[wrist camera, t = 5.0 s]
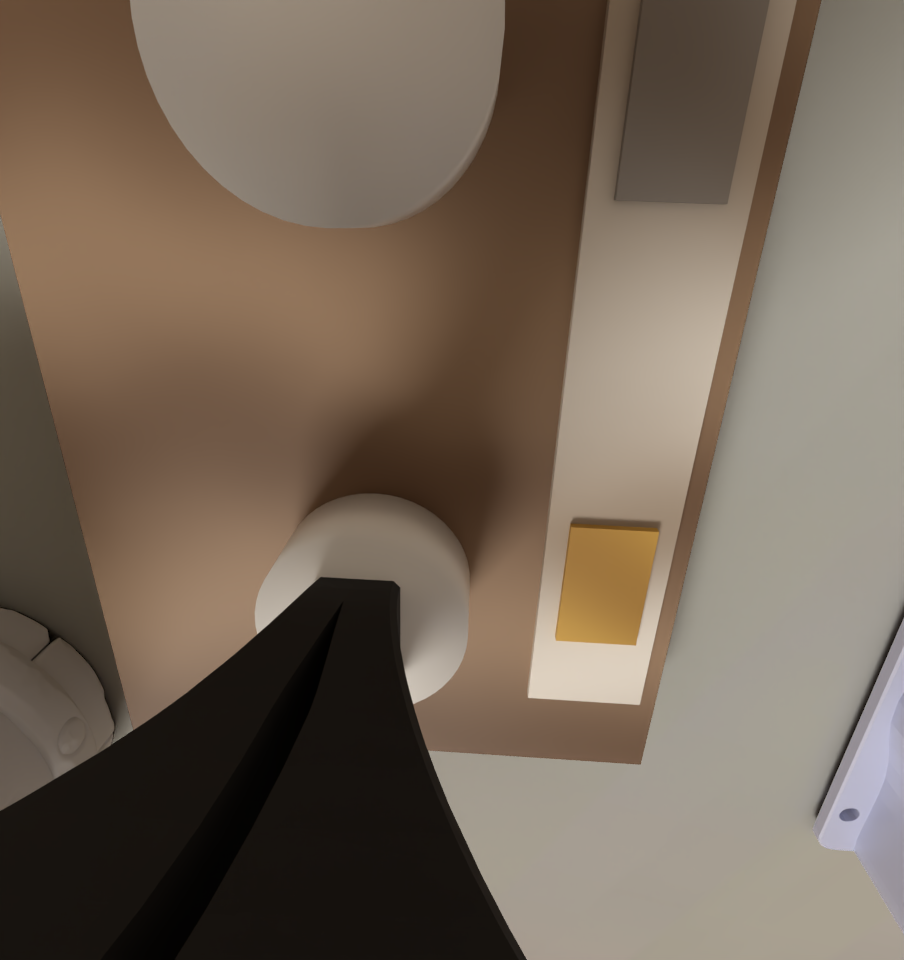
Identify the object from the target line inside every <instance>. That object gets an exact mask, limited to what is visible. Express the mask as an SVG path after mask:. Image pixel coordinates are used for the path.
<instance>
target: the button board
mask: <svg viewBox="0 0 904 960" xmlns="http://www.w3.org/2000/svg"><path fill="white" fill-rule="evenodd" d="M820 4H821V0H505V31H504V40H503V49H502V58H501V67H500V76H499V84H498V93H497V98H496V102H495V107H494V111H493V116H492V118H491V121H490V124H489V127H488V130H487V133H486V136H485V138H484V140H483V142H482V144H481V146H480V148H479V150H478V152H477V154H476V156H475V158H474V159H473V161H472V162H471V164H470V166H469V167H468V169H467V170H466V172H465V173H464V174H463V175H462V177H461V178H460V179H459V180H458V181H457V183H456V184H455V185H454V186H453V187H452V188H451V189H450V190H449V191H448V192H447V193H446V194H445V195H444V196H443V197H442V198H440V199H439V200H438V201H437V202H435V203H434V204H432V205H431V206H430V207H428V208H427V209H425V210H424V211H422V212H420V213H418V214H416V215H414V216H412V217H410V218H408V219H405V220H402V221H399V222H396V223H393V224H390V225H385V226H379V227H373V228H320V227H311V226H304V225H300V224H296V223H292V222H288V221H284V220H281V219H279V218H276V217H274V216H272V215H269V214H267V213H264V212H262V211H260V210H258V209H256V208H255V207H253V206H251V205H249V204H248V203H246V202H244V201H242V200H241V199H239V198H238V197H237V196H235V195H234V194H233V193H231V192H230V191H229V190H227V189H226V188H224V187H223V186H222V185H221V184H220V183H219V182H218V181H216V180H215V179H214V178H213V177H212V176H211V175H210V174H209V173H208V172H207V171H206V170H205V169H204V168H203V167H202V166H201V165H200V164H199V163H198V161H197V160H196V159H195V158H194V157H193V156H192V154H191V153H190V152H189V151H188V150H187V149H186V147H185V146H184V144H183V143H182V141H181V140H180V138H179V137H178V135H177V134H176V133H175V131H174V130H173V128H172V127H171V125H170V123H169V121H168V120H167V118H166V116H165V114H164V112H163V110H162V109H161V107H160V105H159V103H158V101H157V99H156V96H155V94H154V92H153V89H152V87H151V85H150V82H149V80H148V78H147V75H146V72H145V69H144V65H143V62H142V59H141V56H140V53H139V49H138V46H137V41H136V36H135V31H134V26H133V21H132V16H131V6H130V0H0V215H1V219H2V223H3V226H4V230H5V234H6V238H7V242H8V246H9V250H10V254H11V257H12V261H13V265H14V269H15V273H16V277H17V281H18V285H19V288H20V292H21V296H22V300H23V304H24V308H25V312H26V316H27V319H28V323H29V327H30V331H31V335H32V339H33V343H34V347H35V351H36V354H37V358H38V362H39V366H40V370H41V374H42V378H43V382H44V385H45V389H46V393H47V397H48V401H49V405H50V409H51V413H52V416H53V420H54V424H55V428H56V432H57V436H58V440H59V444H60V448H61V451H62V455H63V459H64V463H65V467H66V471H67V475H68V479H69V482H70V486H71V490H72V494H73V498H74V502H75V506H76V510H77V513H78V517H79V521H80V525H81V529H82V533H83V537H84V541H85V544H86V548H87V552H88V556H89V560H90V564H91V568H92V572H93V576H94V579H95V583H96V587H97V591H98V595H99V599H100V603H101V607H102V610H103V614H104V618H105V622H106V626H107V630H108V634H109V638H110V641H111V645H112V649H113V653H114V657H115V661H116V665H117V669H118V672H119V676H120V680H121V684H122V688H123V692H124V696H125V700H126V704H127V707H128V711H129V715H130V719H131V723H132V727H133V730H134V729H136V728H137V727H139V726H140V725H142V724H143V723H145V722H146V721H148V720H149V719H151V718H152V717H154V716H155V715H157V714H158V713H159V712H161V711H162V710H164V709H165V708H166V707H168V706H169V705H171V704H172V703H173V702H175V701H176V700H177V699H179V698H180V697H181V696H183V695H184V694H186V693H187V692H188V691H189V690H191V689H192V688H193V687H194V686H196V685H197V684H198V683H199V682H201V681H202V680H203V679H204V678H206V677H207V676H208V675H209V674H211V673H212V672H213V671H214V670H216V669H217V668H218V667H219V666H221V665H222V664H223V663H224V662H226V661H227V660H228V659H229V658H230V657H232V656H233V655H234V654H235V653H236V652H238V651H239V650H240V649H241V648H242V647H243V646H244V645H246V644H247V643H248V642H249V641H250V640H251V639H252V638H254V637H255V636H256V635H257V630H256V625H255V606H256V600H257V596H258V593H259V590H260V588H261V586H262V584H263V582H264V580H265V578H266V576H267V575H268V573H269V572H270V570H271V568H272V567H273V565H274V563H275V562H276V560H277V559H278V557H279V555H280V554H281V552H282V551H283V549H284V547H285V546H286V544H287V542H288V541H289V539H290V538H291V536H292V534H293V533H294V531H295V530H296V528H297V527H298V526H299V524H300V523H301V522H302V521H303V520H304V519H305V518H306V517H307V516H308V515H309V514H310V513H311V512H313V511H314V510H315V509H317V508H318V507H320V506H322V505H324V504H325V503H327V502H330V501H332V500H335V499H337V498H341V497H345V496H348V495H355V494H364V493H376V494H385V495H391V496H395V497H399V498H403V499H405V500H408V501H411V502H414V503H416V504H418V505H420V506H422V507H424V508H425V509H427V510H428V511H430V512H431V513H433V514H434V515H436V516H437V517H438V518H439V519H440V520H442V521H443V522H444V523H445V524H446V525H447V526H448V527H449V528H450V530H451V531H452V532H453V533H454V535H455V536H456V538H457V539H458V540H459V542H460V544H461V546H462V548H463V550H464V552H465V555H466V558H467V561H468V566H469V572H470V592H469V620H468V640H467V647H466V651H465V654H464V657H463V660H462V662H461V664H460V666H459V668H458V669H457V671H456V672H455V674H454V675H453V677H452V678H451V679H450V680H449V681H448V682H447V683H446V684H445V685H444V686H443V687H442V688H441V689H439V690H438V691H437V692H435V693H434V694H432V695H431V696H429V697H427V698H426V699H424V700H421V701H419V702H417V703H415V704H413V705H414V709H415V713H416V716H417V719H418V723H419V726H420V729H421V732H422V735H423V738H424V741H425V744H426V747H427V750H430V751H445V752H461V753H476V754H491V755H506V756H521V757H536V758H551V759H566V760H581V761H596V762H611V763H626V764H641V760H642V756H643V752H644V748H645V743H646V739H647V735H648V731H649V726H650V722H651V718H652V714H653V710H654V705H655V701H656V697H657V693H658V688H659V684H660V680H661V676H662V672H663V667H664V663H665V659H666V655H667V650H668V646H669V642H670V638H671V633H672V629H673V625H674V621H675V617H676V612H677V608H678V604H679V600H680V595H681V591H682V587H683V583H684V579H685V574H686V570H687V566H688V562H689V557H690V553H691V549H692V545H693V541H694V536H695V532H696V528H697V524H698V519H699V515H700V511H701V507H702V503H703V498H704V494H705V490H706V486H707V481H708V477H709V473H710V469H711V465H712V460H713V456H714V452H715V448H716V443H717V439H718V435H719V431H720V427H721V422H722V418H723V414H724V410H725V405H726V401H727V397H728V393H729V389H730V384H731V380H732V376H733V372H734V367H735V363H736V359H737V355H738V351H739V346H740V342H741V338H742V334H743V329H744V325H745V321H746V317H747V313H748V308H749V304H750V300H751V296H752V291H753V287H754V283H755V279H756V275H757V270H758V266H759V262H760V258H761V253H762V249H763V245H764V241H765V237H766V232H767V228H768V224H769V220H770V215H771V211H772V207H773V203H774V199H775V194H776V190H777V186H778V182H779V177H780V173H781V169H782V165H783V160H784V156H785V152H786V148H787V144H788V139H789V135H790V131H791V127H792V122H793V118H794V114H795V110H796V106H797V101H798V97H799V93H800V89H801V84H802V80H803V76H804V72H805V68H806V63H807V59H808V55H809V51H810V46H811V42H812V38H813V34H814V30H815V25H816V21H817V17H818V13H819V8H820Z"/></svg>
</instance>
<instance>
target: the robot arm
mask: <svg viewBox="0 0 904 960" xmlns="http://www.w3.org/2000/svg"><path fill="white" fill-rule="evenodd" d="M813 832H814V834H815V835H816V837H817V839H818V841H819V843H820V845H822V846H823V847H825V848H828V849H833V850H846V851H855V853H856V855H857V857H858V859H859V860H860V862H861V864H862V865H863V867H864V869H865V870H866V872H867V874H868V875H869V877H870V879H871V880H872V882H873V884H874V885H875V887H876V889H877V890H878V892H879V894H880V895H881V897H882V899H883V900H884V902H885V904H886V905H887V907H888V909H889V911H890V912H891V914H892V916H893V917H894V919H895V921H896V922H897V924H898V926H899V927H900V929H901V931H902V932H903V934H904V619H903V621H902V623H901V626H900V628H899V630H898V632H897V635H896V637H895V639H894V642H893V644H892V646H891V649H890V651H889V653H888V655H887V658H886V660H885V662H884V665H883V667H882V669H881V671H880V674H879V676H878V678H877V681H876V683H875V685H874V688H873V690H872V692H871V694H870V697H869V699H868V701H867V704H866V706H865V708H864V711H863V713H862V715H861V717H860V720H859V722H858V724H857V727H856V729H855V731H854V734H853V736H852V738H851V740H850V743H849V745H848V747H847V750H846V752H845V754H844V757H843V759H842V761H841V763H840V766H839V768H838V770H837V773H836V775H835V777H834V780H833V782H832V784H831V786H830V789H829V791H828V793H827V796H826V798H825V800H824V803H823V805H822V807H821V809H820V812H819V814H818V816H817V819H816V821H815V823H814V826H813ZM0 960H527V959H526V958H525V956H524V954H523V952H522V950H521V949H520V947H519V945H518V943H517V942H516V940H515V938H514V936H513V934H512V933H511V931H510V929H509V927H508V925H507V923H506V921H505V919H504V918H503V916H502V914H501V912H500V910H499V908H498V906H497V904H496V902H495V900H494V898H493V896H492V895H491V893H490V891H489V889H488V887H487V885H486V883H485V881H484V879H483V877H482V875H481V873H480V871H479V869H478V867H477V865H476V862H475V860H474V858H473V856H472V854H471V852H470V850H469V847H468V845H467V843H466V841H465V839H464V837H463V834H462V832H461V830H460V828H459V826H458V824H457V822H456V819H455V817H454V815H453V813H452V811H451V809H450V806H449V804H448V802H447V799H446V797H445V794H444V792H443V789H442V787H441V784H440V782H439V779H438V777H437V774H436V772H435V769H434V766H433V763H432V761H431V758H430V755H429V752H428V750H427V747H426V744H425V741H424V738H423V735H422V732H421V729H420V726H419V723H418V719H417V716H416V713H415V709H414V705H413V702H412V698H411V695H410V691H409V687H408V683H407V678H406V674H405V669H404V664H403V659H402V653H401V648H400V587H399V586H398V585H397V584H396V583H395V582H394V581H385V580H365V579H348V578H331V577H320V578H319V579H318V580H316V581H315V582H314V583H313V584H312V585H311V586H310V587H308V588H307V589H306V590H305V591H304V592H303V593H302V594H301V595H300V596H299V597H298V598H297V599H295V600H294V601H293V602H292V603H291V604H290V605H289V606H288V607H287V608H286V609H285V610H284V611H283V612H281V613H280V614H279V615H278V616H277V617H276V618H275V619H274V620H273V621H272V622H271V623H269V624H268V625H267V626H266V627H265V628H264V629H263V630H262V631H260V632H259V633H258V634H257V635H256V636H255V637H254V638H252V639H251V640H250V641H249V642H248V643H247V644H246V645H244V646H243V647H242V648H241V649H240V650H239V651H238V652H236V653H235V654H234V655H233V656H232V657H230V658H229V659H228V660H227V661H226V662H224V663H223V664H222V665H221V666H219V667H218V668H217V669H216V670H214V671H213V672H212V673H211V674H209V675H208V676H207V677H206V678H204V679H203V680H202V681H201V682H199V683H198V684H197V685H196V686H194V687H193V688H192V689H191V690H189V691H188V692H187V693H186V694H184V695H183V696H181V697H180V698H179V699H177V700H176V701H175V702H173V703H172V704H171V705H169V706H168V707H166V708H165V709H164V710H162V711H161V712H159V713H158V714H157V715H155V716H154V717H152V718H151V719H149V720H148V721H146V722H145V723H143V724H142V725H140V726H139V727H137V728H136V729H134V730H133V731H131V732H130V733H128V734H127V735H126V736H124V737H123V738H121V739H120V740H118V741H117V742H115V743H113V744H112V745H110V746H109V747H107V748H106V749H104V750H103V751H101V752H99V753H98V754H96V755H94V756H93V757H91V758H89V759H88V760H86V761H84V762H83V763H81V764H79V765H78V766H76V767H74V768H72V769H71V770H69V771H67V772H66V773H64V774H62V775H61V776H59V777H57V778H56V779H54V780H52V781H51V782H49V783H47V784H46V785H44V786H42V787H41V788H39V789H37V790H36V791H34V792H32V793H31V794H29V795H27V796H25V797H24V798H22V799H20V800H19V801H17V802H15V803H13V804H11V805H10V806H8V807H6V808H4V809H2V810H1V811H0Z"/></svg>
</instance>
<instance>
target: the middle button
mask: <svg viewBox="0 0 904 960" xmlns="http://www.w3.org/2000/svg"><path fill="white" fill-rule="evenodd" d="M130 6H131V16H132V21H133V26H134V31H135V36H136V41H137V46H138V49H139V53H140V56H141V59H142V62H143V65H144V69H145V72H146V75H147V78H148V80H149V82H150V85H151V87H152V89H153V92H154V94H155V96H156V99H157V101H158V103H159V105H160V107H161V109H162V110H163V112H164V114H165V116H166V118H167V120H168V121H169V123H170V125H171V127H172V128H173V130H174V131H175V133H176V134H177V135H178V137H179V138H180V140H181V141H182V143H183V144H184V146H185V147H186V149H187V150H188V151H189V152H190V153H191V154H192V156H193V157H194V158H195V159H196V160H197V161H198V163H199V164H200V165H201V166H202V167H203V168H204V169H205V170H206V171H207V172H208V173H209V174H210V175H211V176H212V177H213V178H214V179H215V180H216V181H218V182H219V183H220V184H221V185H222V186H223V187H224V188H226V189H227V190H229V191H230V192H231V193H233V194H234V195H235V196H237V197H238V198H239V199H241V200H242V201H244V202H246V203H248V204H249V205H251V206H253V207H255V208H256V209H258V210H260V211H262V212H264V213H267V214H269V215H272V216H274V217H276V218H279V219H281V220H284V221H288V222H292V223H296V224H300V225H304V226H311V227H320V228H373V227H379V226H385V225H390V224H393V223H396V222H399V221H402V220H405V219H408V218H410V217H412V216H414V215H416V214H418V213H420V212H422V211H424V210H425V209H427V208H428V207H430V206H431V205H432V204H434V203H435V202H437V201H438V200H439V199H440V198H442V197H443V196H444V195H445V194H446V193H447V192H448V191H449V190H450V189H451V188H452V187H453V186H454V185H455V184H456V183H457V181H458V180H459V179H460V178H461V177H462V175H463V174H464V173H465V172H466V170H467V169H468V167H469V166H470V164H471V162H472V161H473V159H474V158H475V156H476V154H477V152H478V150H479V148H480V146H481V144H482V142H483V140H484V138H485V136H486V133H487V130H488V127H489V124H490V121H491V118H492V116H493V111H494V107H495V102H496V98H497V93H498V84H499V76H500V67H501V58H502V49H503V40H504V31H505V0H130Z"/></svg>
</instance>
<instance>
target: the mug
mask: <svg viewBox="0 0 904 960" xmlns="http://www.w3.org/2000/svg"><path fill="white" fill-rule="evenodd" d="M49 642H50V640H49V636H48V630H47V629H46V628H45V627H43V626H42V625H40V624H39V623H37V622H35V621H34V620H32V619H30V618H28V617H26V616H23V615H21V614H19V613H17V612H16V611H13V610H7V609H3V608H0V811H1V810H2V809H4V808H6V807H8V806H10V805H11V804H13V803H15V802H17V801H19V800H20V799H22V798H24V797H25V796H27V795H29V794H31V793H32V792H34V791H36V790H37V789H39V788H41V787H42V786H44V785H46V784H47V783H49V782H51V781H52V780H54V779H56V778H57V777H59V776H61V775H62V774H64V773H66V772H67V771H69V770H71V769H72V768H74V767H76V766H78V765H79V764H81V763H83V762H84V761H86V760H88V759H89V758H91V757H93V756H94V755H96V754H98V753H99V752H101V751H103V750H104V749H106V748H107V747H109V746H110V745H111V743H112V739H113V734H112V733H113V731H114V722H113V720H112V718H111V714H110V711H109V708H108V705H107V703H106V701H105V698H104V690H103V687H102V685H101V683H100V681H99V679H98V677H97V676H96V674H95V672H94V671H93V669H92V668H91V666H90V665H89V664H88V663H87V662H86V661H85V659H84V658H83V657H82V656H81V655H80V654H79V653H78V652H77V651H76V650H75V649H74V648H73V647H72V646H71V645H70V644H68V643H67V642H65V641H64V640H62V639H61V638H58V639H56V640H54V641H53V642H52V643H50V644H49V645H48V643H49ZM47 645H48V646H47Z"/></svg>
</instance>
